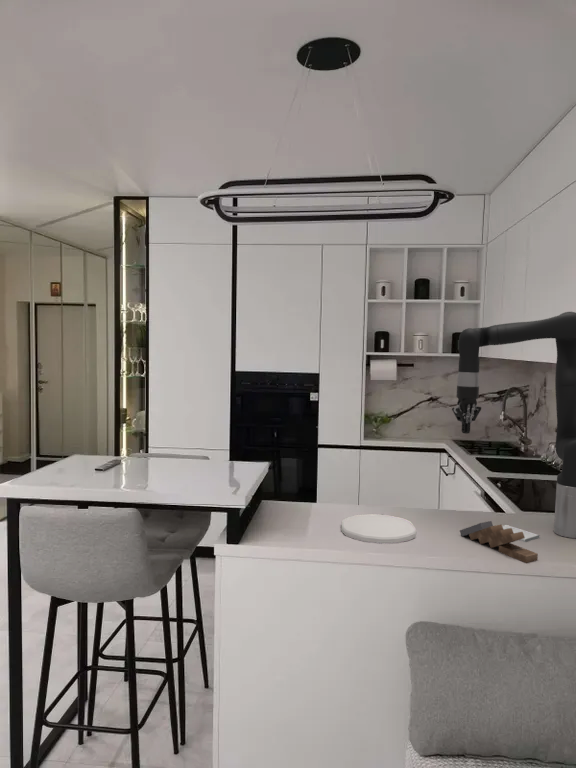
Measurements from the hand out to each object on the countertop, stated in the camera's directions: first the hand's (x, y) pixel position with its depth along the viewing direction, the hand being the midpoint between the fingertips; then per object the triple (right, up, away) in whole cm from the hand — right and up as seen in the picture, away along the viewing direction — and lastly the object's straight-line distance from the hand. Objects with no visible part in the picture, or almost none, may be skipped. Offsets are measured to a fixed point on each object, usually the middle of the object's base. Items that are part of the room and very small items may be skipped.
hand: (465, 433), depth 202 cm
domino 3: (0, -33, -19) cm, 38 cm away
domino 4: (+2, -33, -23) cm, 40 cm away
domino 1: (-4, -32, -13) cm, 35 cm away
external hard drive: (+13, -34, -11) cm, 38 cm away
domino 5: (+4, -33, -26) cm, 42 cm away
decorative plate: (-33, -33, -10) cm, 48 cm away
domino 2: (-2, -33, -16) cm, 36 cm away
